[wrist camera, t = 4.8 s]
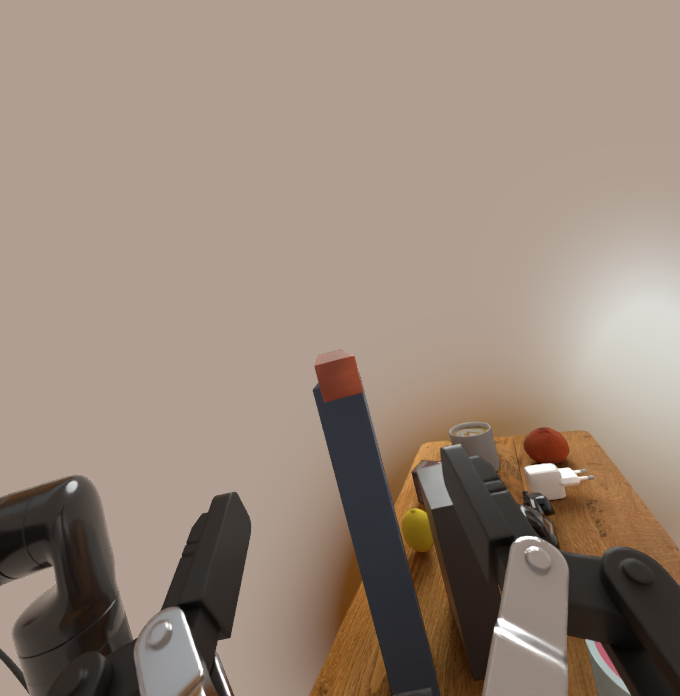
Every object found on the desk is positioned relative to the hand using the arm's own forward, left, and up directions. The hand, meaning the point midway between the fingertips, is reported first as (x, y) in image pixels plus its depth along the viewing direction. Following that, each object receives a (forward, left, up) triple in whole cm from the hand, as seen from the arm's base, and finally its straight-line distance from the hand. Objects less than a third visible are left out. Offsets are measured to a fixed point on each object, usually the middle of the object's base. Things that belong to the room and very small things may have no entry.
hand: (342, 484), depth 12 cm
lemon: (+3, +43, -35) cm, 56 cm away
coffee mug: (+23, +70, -35) cm, 82 cm away
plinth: (+7, +27, -35) cm, 45 cm away
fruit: (+37, +64, -35) cm, 82 cm away
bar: (-2, +21, +1) cm, 21 cm away
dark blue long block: (-2, +23, -35) cm, 42 cm away
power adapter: (+32, +51, -35) cm, 70 cm away
